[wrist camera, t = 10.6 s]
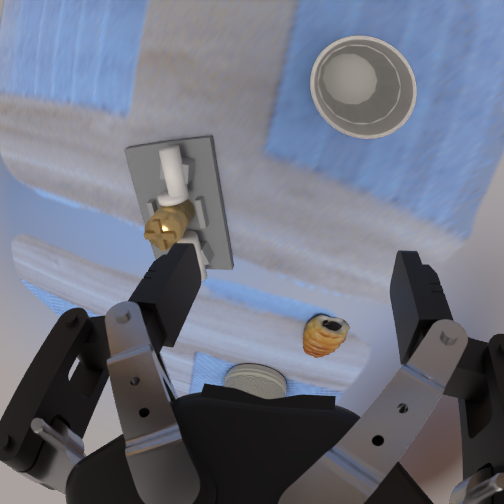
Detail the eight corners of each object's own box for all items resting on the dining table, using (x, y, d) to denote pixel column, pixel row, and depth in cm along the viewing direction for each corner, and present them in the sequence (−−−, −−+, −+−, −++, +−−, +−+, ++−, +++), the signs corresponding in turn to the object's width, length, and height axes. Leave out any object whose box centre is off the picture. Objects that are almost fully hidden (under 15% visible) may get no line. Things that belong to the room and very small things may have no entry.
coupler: (161, 196, 41) (138, 220, 35) (191, 194, 40) (171, 219, 34) (168, 224, 43) (147, 251, 38) (197, 224, 42) (179, 252, 37)
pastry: (330, 352, 54) (329, 369, 51) (294, 343, 54) (292, 361, 51) (351, 319, 48) (352, 337, 45) (312, 308, 49) (310, 326, 46)
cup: (398, 90, 28) (435, 107, 19) (340, 125, 32) (351, 157, 23) (355, 30, 26) (375, 17, 16) (296, 68, 30) (287, 72, 20)
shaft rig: (128, 146, 38) (107, 159, 34) (212, 135, 36) (197, 147, 32) (160, 263, 49) (147, 283, 45) (233, 265, 46) (225, 288, 42)
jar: (238, 354, 59) (214, 436, 44) (298, 375, 59) (287, 456, 45) (219, 382, 66) (197, 452, 52) (272, 400, 67) (258, 470, 53)
